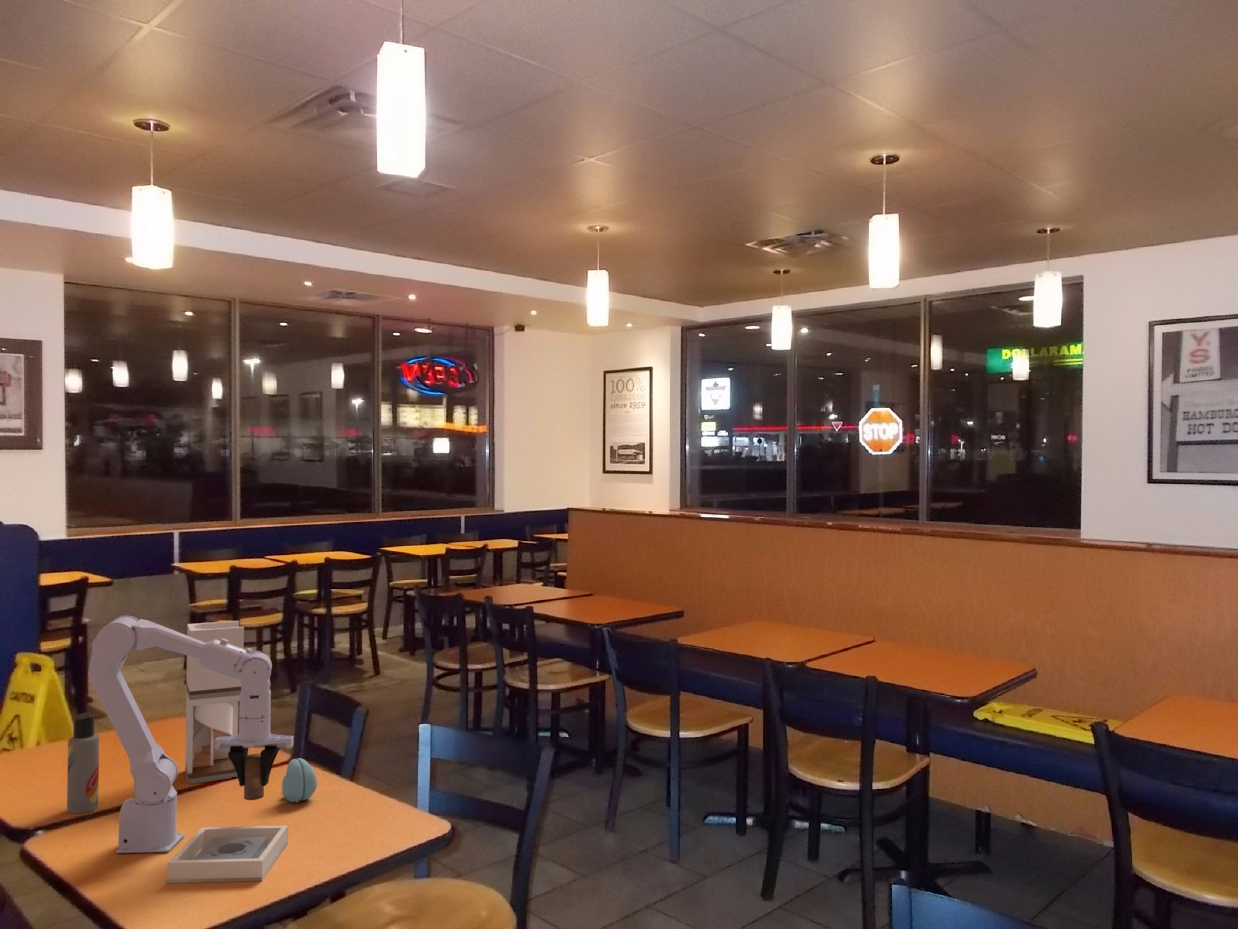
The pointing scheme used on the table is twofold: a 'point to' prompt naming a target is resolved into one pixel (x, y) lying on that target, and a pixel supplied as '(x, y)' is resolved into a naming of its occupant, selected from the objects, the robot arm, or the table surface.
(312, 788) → the toy flower bud
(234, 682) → the tall white shelf
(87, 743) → the lotion bottle
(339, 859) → the table surface
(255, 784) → the peg
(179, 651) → the robot arm
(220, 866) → the box
